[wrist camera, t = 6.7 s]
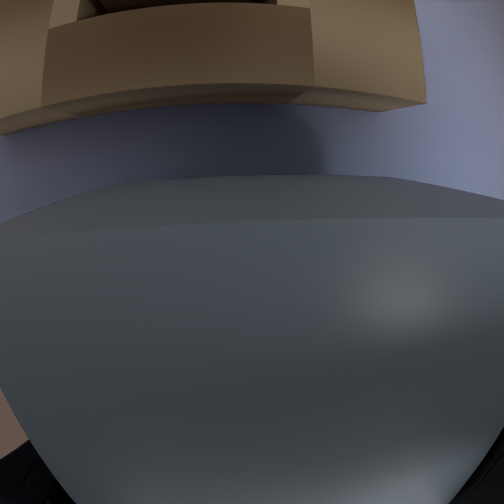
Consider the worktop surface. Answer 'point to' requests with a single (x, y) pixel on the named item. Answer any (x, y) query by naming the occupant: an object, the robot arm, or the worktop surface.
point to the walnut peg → (154, 3)
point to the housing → (257, 339)
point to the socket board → (205, 56)
